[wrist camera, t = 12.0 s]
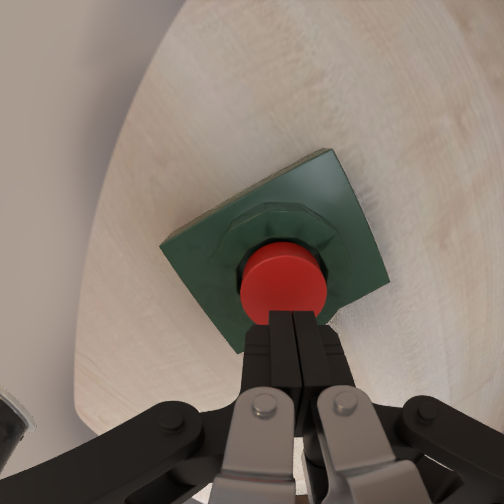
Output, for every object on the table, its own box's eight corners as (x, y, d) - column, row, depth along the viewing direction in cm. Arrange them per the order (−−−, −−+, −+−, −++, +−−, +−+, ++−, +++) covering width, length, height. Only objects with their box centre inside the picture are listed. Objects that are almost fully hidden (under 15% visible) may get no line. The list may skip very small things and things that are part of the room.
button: (266, 322, 14) (266, 343, 13) (228, 264, 13) (223, 281, 12) (331, 290, 14) (339, 309, 12) (298, 227, 13) (304, 239, 11)
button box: (239, 334, 19) (234, 374, 15) (170, 234, 17) (145, 259, 13) (377, 266, 17) (403, 297, 13) (323, 147, 15) (342, 148, 11)
